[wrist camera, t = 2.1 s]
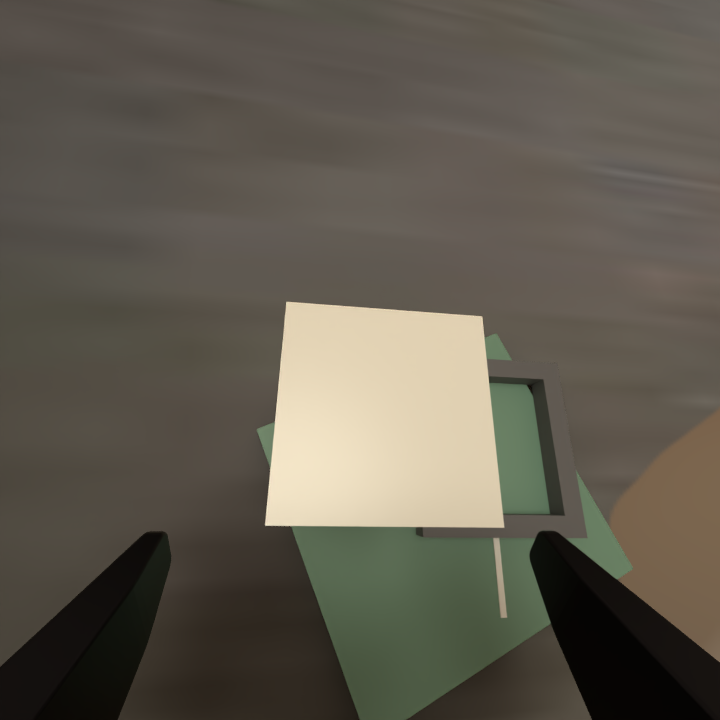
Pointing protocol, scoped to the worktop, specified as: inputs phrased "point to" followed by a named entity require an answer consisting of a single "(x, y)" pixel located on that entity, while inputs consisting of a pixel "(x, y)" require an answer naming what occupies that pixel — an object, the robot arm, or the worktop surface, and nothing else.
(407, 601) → the board
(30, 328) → the worktop surface
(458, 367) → the plug
